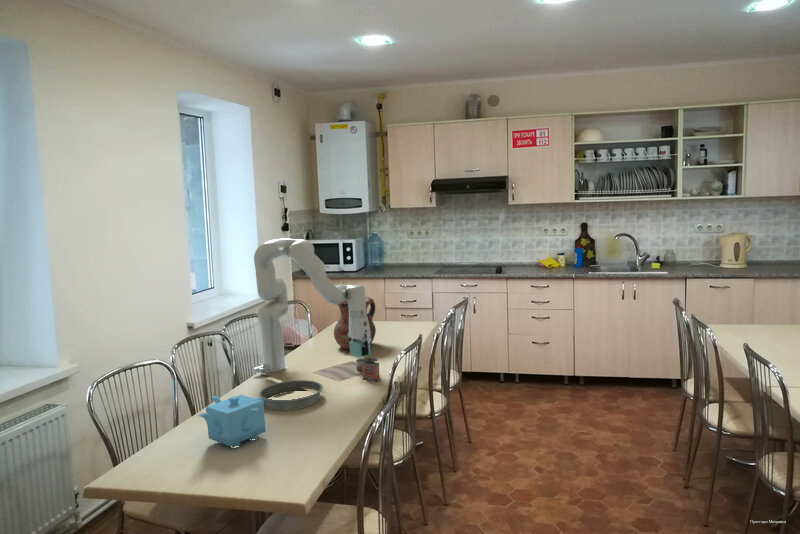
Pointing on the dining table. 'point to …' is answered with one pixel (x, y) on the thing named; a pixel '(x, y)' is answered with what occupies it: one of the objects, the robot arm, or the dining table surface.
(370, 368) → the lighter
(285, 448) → the dining table surface
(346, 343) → the jug
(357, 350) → the turquoise cube
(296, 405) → the cake pan
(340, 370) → the post board
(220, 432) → the teakettle
